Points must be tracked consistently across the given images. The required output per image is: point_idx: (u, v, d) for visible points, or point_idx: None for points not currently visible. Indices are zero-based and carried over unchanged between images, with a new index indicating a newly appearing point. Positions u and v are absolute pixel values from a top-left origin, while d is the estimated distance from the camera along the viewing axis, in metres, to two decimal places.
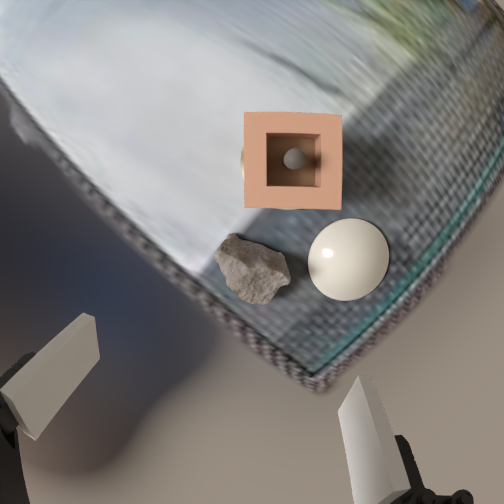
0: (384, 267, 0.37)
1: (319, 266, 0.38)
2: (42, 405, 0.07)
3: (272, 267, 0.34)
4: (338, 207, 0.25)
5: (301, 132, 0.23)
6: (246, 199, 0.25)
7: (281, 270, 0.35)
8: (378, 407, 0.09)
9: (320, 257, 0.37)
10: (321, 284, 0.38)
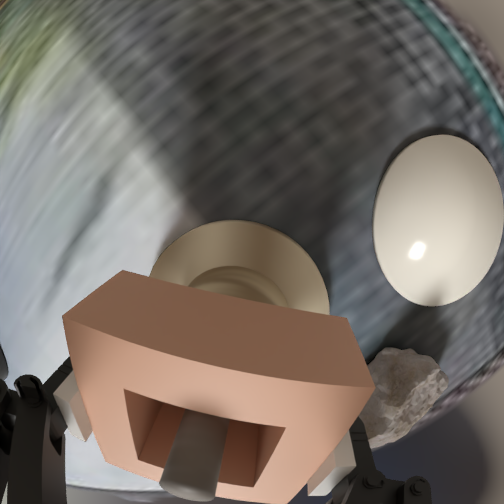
0: (474, 153, 0.13)
1: (439, 286, 0.16)
2: None
3: (404, 392, 0.15)
4: (365, 393, 0.06)
5: (127, 418, 0.08)
6: (271, 502, 0.09)
7: (414, 379, 0.14)
8: None
9: (426, 282, 0.16)
10: (465, 285, 0.16)
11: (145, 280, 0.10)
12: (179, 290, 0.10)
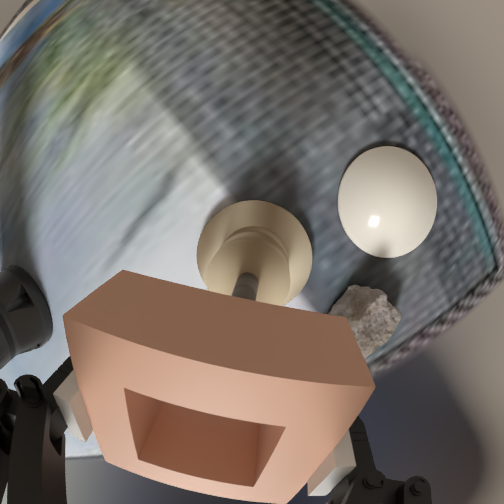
0: (408, 156, 0.25)
1: (387, 244, 0.28)
2: None
3: (362, 311, 0.26)
4: (365, 393, 0.06)
5: (128, 418, 0.08)
6: (271, 501, 0.09)
7: (368, 301, 0.26)
8: None
9: (377, 240, 0.28)
10: (408, 245, 0.27)
11: (145, 280, 0.10)
12: (180, 290, 0.10)
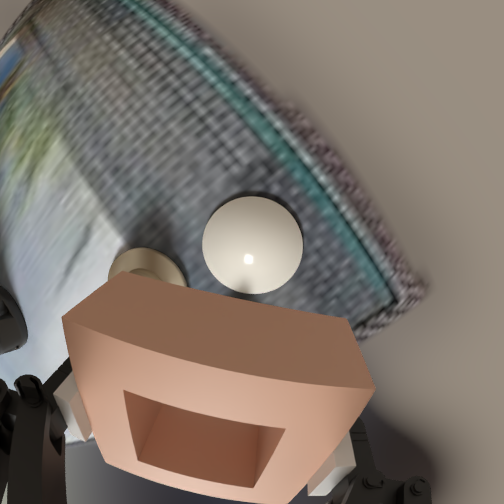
0: (268, 204, 0.32)
1: (251, 282, 0.34)
2: None
3: None
4: (365, 395, 0.06)
5: (127, 419, 0.08)
6: (271, 503, 0.09)
7: None
8: None
9: (240, 279, 0.34)
10: (273, 283, 0.34)
11: (145, 281, 0.10)
12: (179, 291, 0.10)
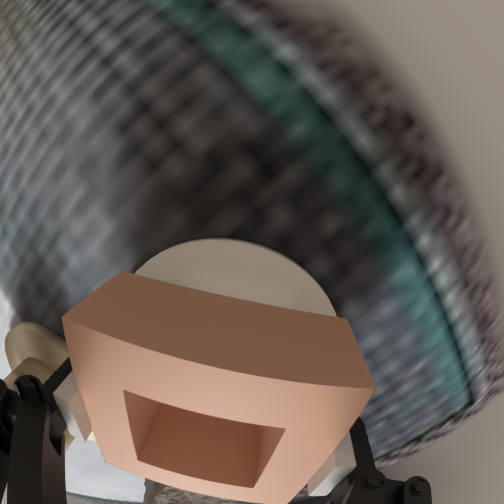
0: (260, 260, 0.12)
1: None
2: None
3: (161, 486, 0.13)
4: (365, 395, 0.06)
5: (127, 419, 0.08)
6: (271, 502, 0.09)
7: None
8: None
9: None
10: None
11: (145, 281, 0.10)
12: (179, 291, 0.10)
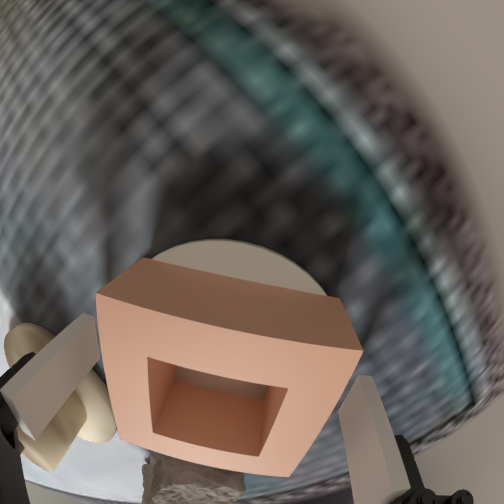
0: (261, 261, 0.12)
1: None
2: (42, 405, 0.07)
3: (158, 488, 0.13)
4: (354, 356, 0.08)
5: (147, 388, 0.09)
6: (275, 474, 0.11)
7: (162, 482, 0.13)
8: (378, 407, 0.09)
9: None
10: None
11: (164, 265, 0.12)
12: (195, 273, 0.12)
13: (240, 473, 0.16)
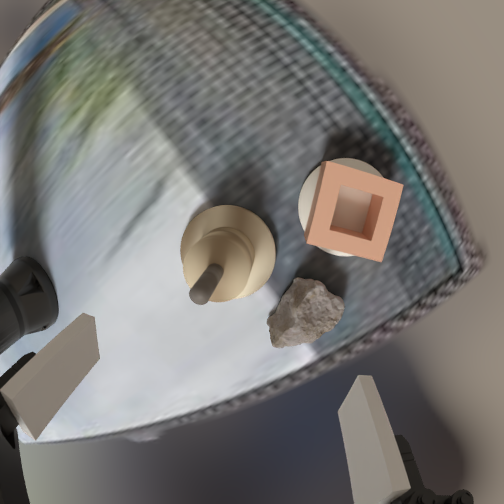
0: (364, 166, 0.30)
1: None
2: (42, 405, 0.07)
3: (301, 300, 0.32)
4: (401, 186, 0.26)
5: (336, 200, 0.28)
6: (376, 259, 0.29)
7: (306, 291, 0.31)
8: (378, 407, 0.09)
9: None
10: None
11: None
12: None
13: None
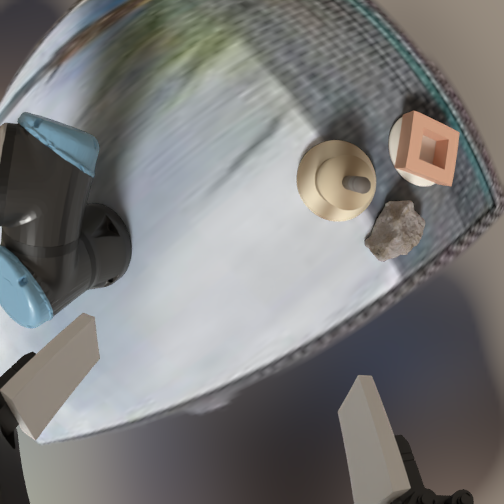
0: None
1: None
2: (42, 405, 0.07)
3: (399, 214, 0.36)
4: (458, 133, 0.31)
5: (421, 138, 0.32)
6: (448, 183, 0.33)
7: (402, 207, 0.35)
8: (378, 407, 0.09)
9: None
10: None
11: None
12: None
13: None
